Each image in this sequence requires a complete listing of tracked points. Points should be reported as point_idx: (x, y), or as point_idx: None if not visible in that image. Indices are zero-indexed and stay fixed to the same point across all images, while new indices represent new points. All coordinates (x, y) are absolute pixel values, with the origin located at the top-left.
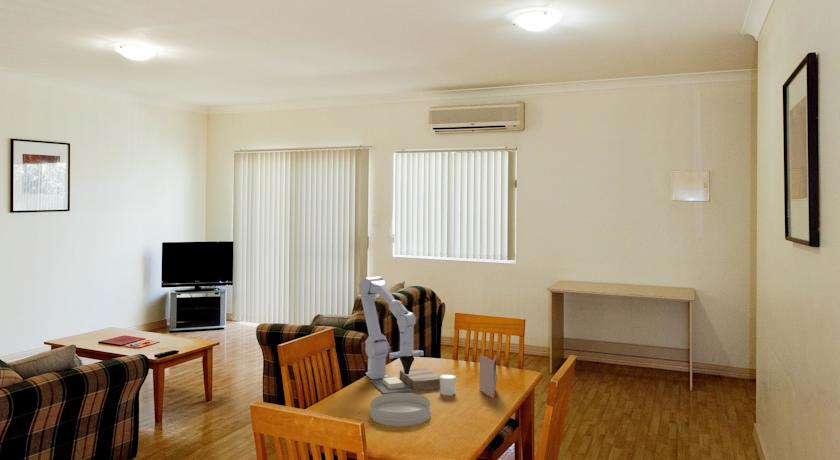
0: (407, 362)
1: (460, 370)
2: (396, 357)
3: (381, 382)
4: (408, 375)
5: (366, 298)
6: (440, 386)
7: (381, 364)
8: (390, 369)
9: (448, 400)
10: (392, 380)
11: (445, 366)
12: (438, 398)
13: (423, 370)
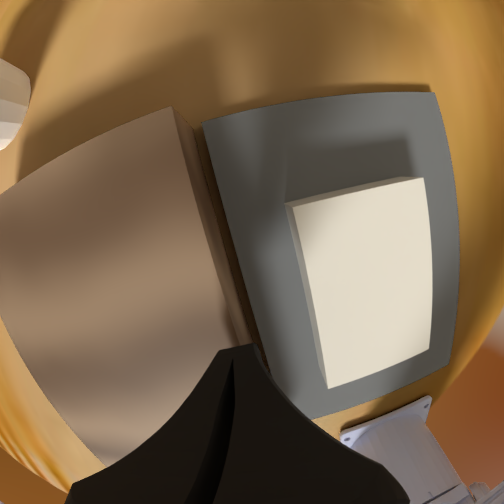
0: (237, 464)
1: (24, 436)
2: (493, 492)
3: None
4: None
5: None
6: (3, 78)
7: (407, 476)
8: None
9: (42, 3)
10: (384, 291)
11: None
12: (70, 11)
13: (106, 438)
